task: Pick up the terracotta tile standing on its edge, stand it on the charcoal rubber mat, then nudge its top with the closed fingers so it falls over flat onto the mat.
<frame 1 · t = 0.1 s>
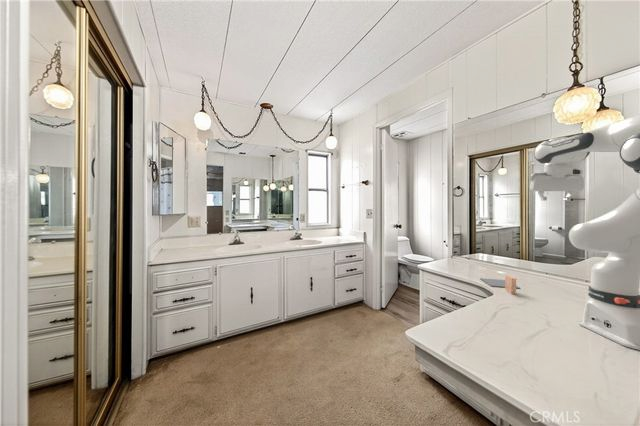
hand: (555, 200, 116), 48 cm above the counter, fingers open, 8 cm apart
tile: (510, 292, 124), on the counter
mat: (499, 283, 137), on the counter
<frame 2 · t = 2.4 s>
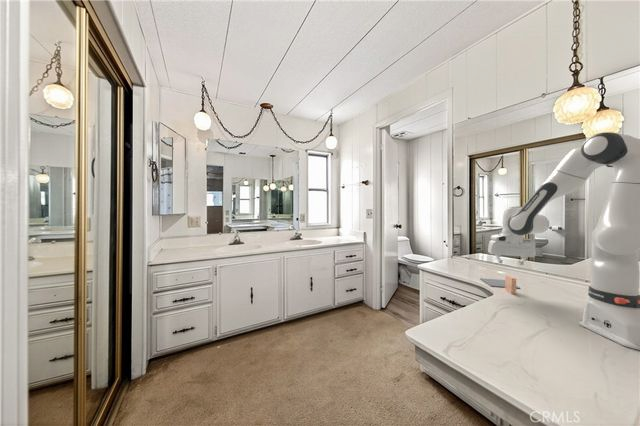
hand: (510, 264, 124), 15 cm above the counter, fingers open, 8 cm apart
nothing on the counter moved.
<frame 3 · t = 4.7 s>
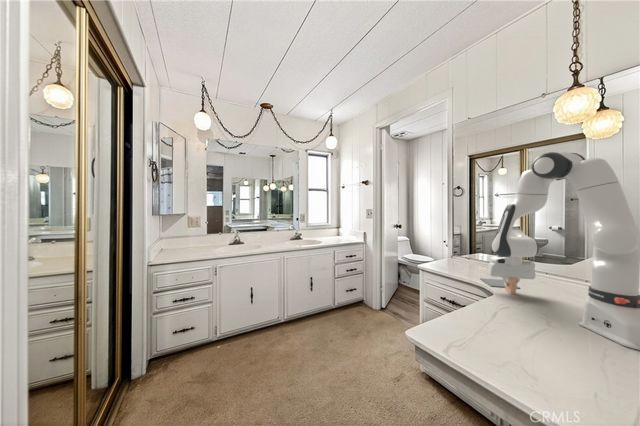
hand: (510, 286, 124), 3 cm above the counter, fingers closed on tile, 2 cm apart
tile: (510, 292, 124), on the counter, touching gripper
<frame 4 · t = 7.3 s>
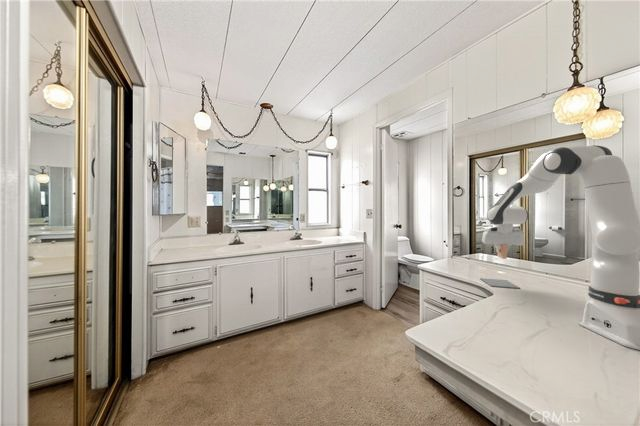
hand: (502, 252, 138), 18 cm above the counter, fingers closed on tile
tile: (501, 257, 138), point 15 cm above the counter, touching gripper
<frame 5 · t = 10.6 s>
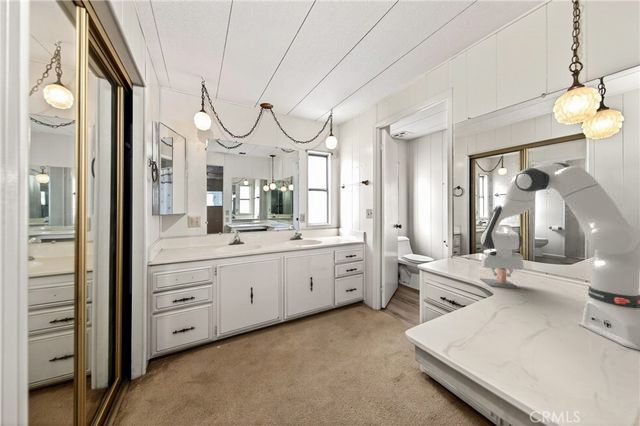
hand: (501, 276, 139), 4 cm above the counter, fingers open, 5 cm apart
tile: (501, 281, 139), point 1 cm above the counter, touching mat
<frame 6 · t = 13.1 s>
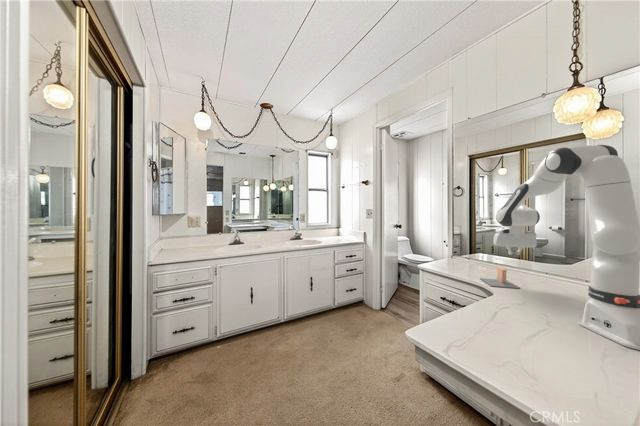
hand: (514, 254, 137), 17 cm above the counter, fingers closed
nothing on the counter moved.
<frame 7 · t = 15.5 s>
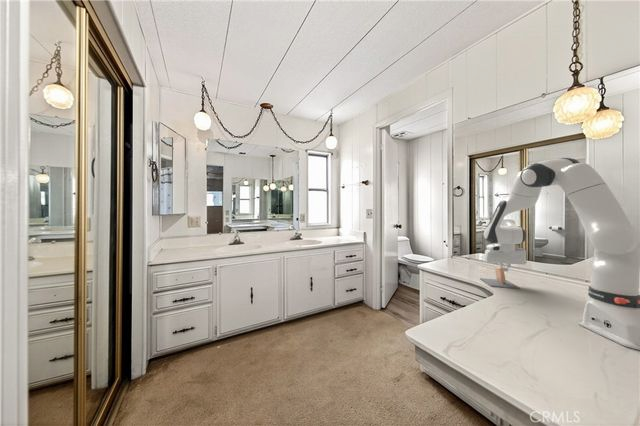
hand: (504, 270, 138), 7 cm above the counter, fingers closed
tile: (501, 281, 139), point 1 cm above the counter, tilted 10°, touching gripper, mat
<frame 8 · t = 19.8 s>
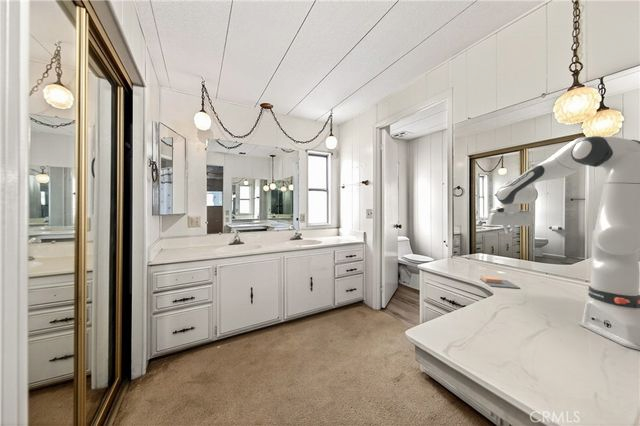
hand: (508, 233, 137), 29 cm above the counter, fingers closed
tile: (499, 280, 139), point 2 cm above the counter, tilted 90°, touching mat
at the end: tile tilted 90°; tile inside the target area on the mat (2.2 cm from its centre), point 1.6 cm above the mat's base; the gripper is holding nothing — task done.
